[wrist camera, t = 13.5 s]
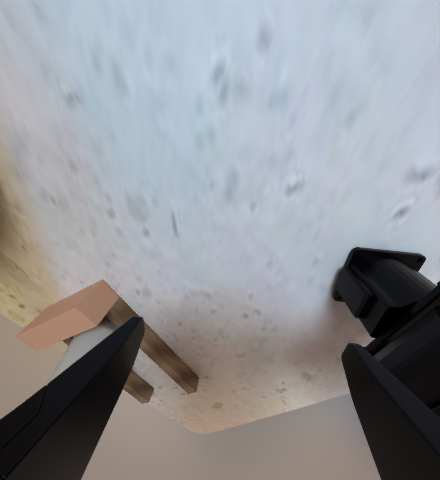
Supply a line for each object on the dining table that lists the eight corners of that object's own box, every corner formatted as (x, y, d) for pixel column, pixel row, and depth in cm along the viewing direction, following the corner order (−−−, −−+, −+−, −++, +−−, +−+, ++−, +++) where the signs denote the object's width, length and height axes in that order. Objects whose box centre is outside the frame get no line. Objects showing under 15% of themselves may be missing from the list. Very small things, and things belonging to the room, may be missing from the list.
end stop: (119, 296, 25) (96, 326, 21) (65, 321, 29) (36, 351, 25) (102, 279, 24) (75, 307, 20) (48, 307, 28) (15, 335, 24)
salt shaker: (99, 339, 30) (10, 466, 18) (82, 311, 27) (-34, 438, 16) (135, 338, 29) (65, 471, 17) (120, 309, 26) (27, 442, 15)
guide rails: (198, 377, 32) (196, 391, 30) (147, 390, 35) (142, 403, 33) (119, 296, 25) (110, 308, 24) (65, 321, 29) (53, 333, 27)
